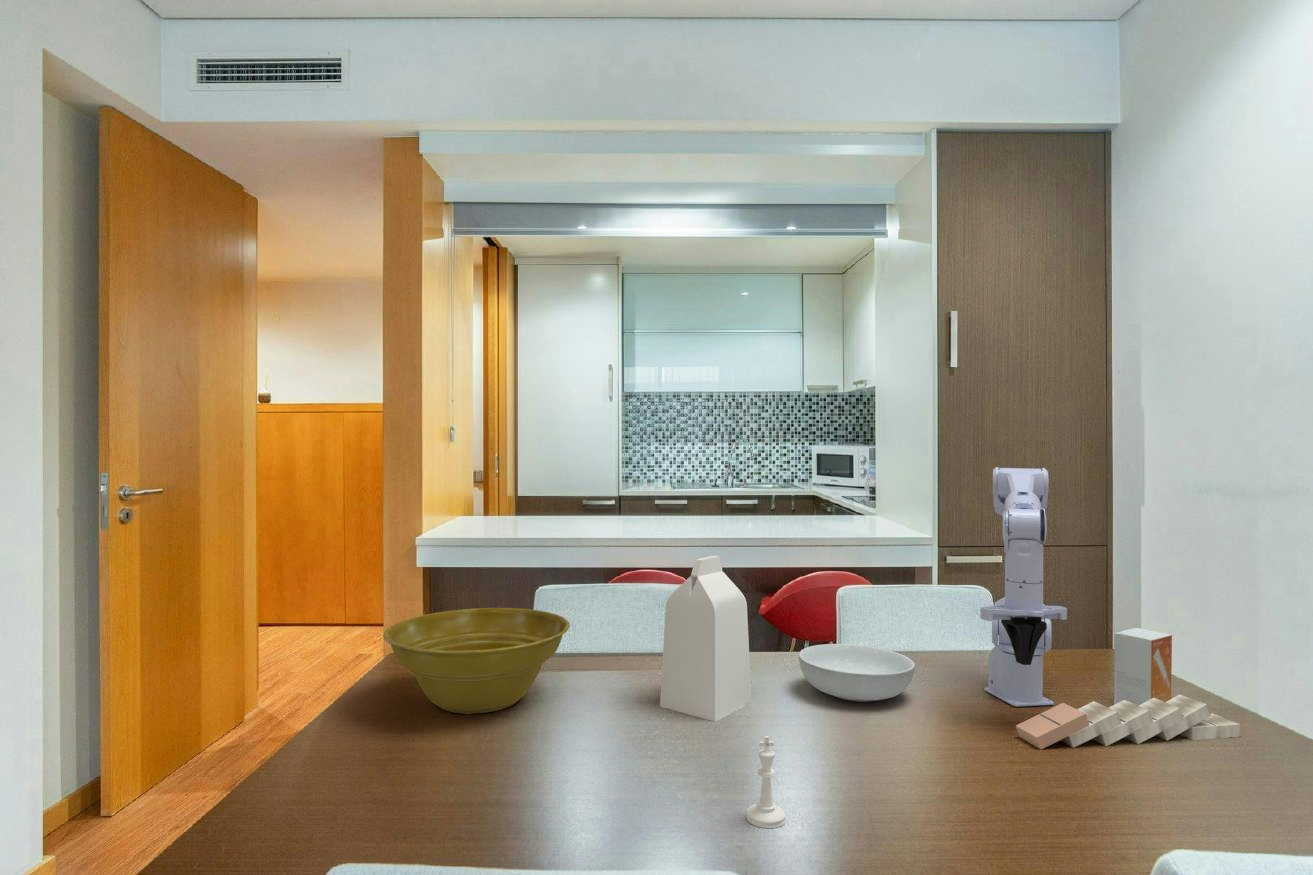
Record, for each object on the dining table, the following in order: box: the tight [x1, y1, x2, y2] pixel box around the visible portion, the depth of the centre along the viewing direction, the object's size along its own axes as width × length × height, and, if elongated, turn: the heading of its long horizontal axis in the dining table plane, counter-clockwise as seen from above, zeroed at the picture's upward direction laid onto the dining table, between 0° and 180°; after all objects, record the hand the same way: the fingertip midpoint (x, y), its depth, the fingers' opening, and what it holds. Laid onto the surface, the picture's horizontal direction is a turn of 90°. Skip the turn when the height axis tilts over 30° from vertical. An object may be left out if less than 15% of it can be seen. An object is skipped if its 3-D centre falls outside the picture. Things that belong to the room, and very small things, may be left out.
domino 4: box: [1154, 694, 1212, 742], centre depth 122 cm, size 5×2×9 cm
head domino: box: [1015, 702, 1090, 750], centre depth 118 cm, size 5×2×9 cm
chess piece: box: [745, 735, 787, 829], centre depth 92 cm, size 5×5×10 cm
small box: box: [1113, 627, 1173, 706], centre depth 135 cm, size 8×6×13 cm
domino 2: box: [1091, 700, 1153, 747], centre depth 119 cm, size 5×2×9 cm
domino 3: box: [1123, 698, 1184, 745], centre depth 120 cm, size 5×2×9 cm
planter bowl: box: [383, 607, 571, 715], centre depth 134 cm, size 32×32×13 cm
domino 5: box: [1179, 713, 1242, 741], centre depth 122 cm, size 5×2×9 cm
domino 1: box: [1059, 700, 1122, 748], centre depth 119 cm, size 5×2×9 cm
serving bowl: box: [798, 643, 916, 703], centre depth 140 cm, size 21×21×7 cm
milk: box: [659, 555, 752, 722], centre depth 133 cm, size 12×12×26 cm
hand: (1023, 663), depth 124 cm, fingers closed
